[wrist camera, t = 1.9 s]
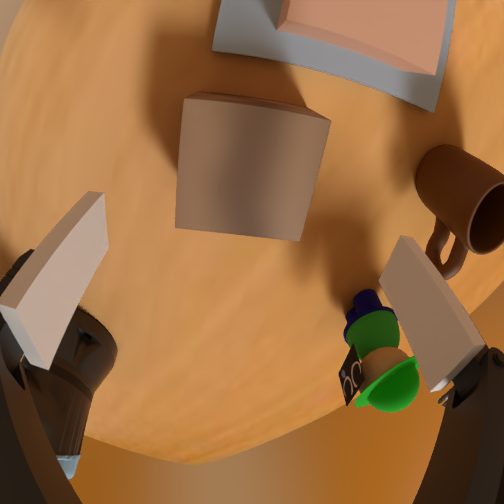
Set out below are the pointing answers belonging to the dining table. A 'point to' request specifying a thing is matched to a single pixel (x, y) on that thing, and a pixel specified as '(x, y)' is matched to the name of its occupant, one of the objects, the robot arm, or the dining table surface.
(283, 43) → the plate
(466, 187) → the mug
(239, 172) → the walnut block
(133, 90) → the dining table surface
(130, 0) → the dining table surface
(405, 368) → the toy
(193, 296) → the dining table surface
